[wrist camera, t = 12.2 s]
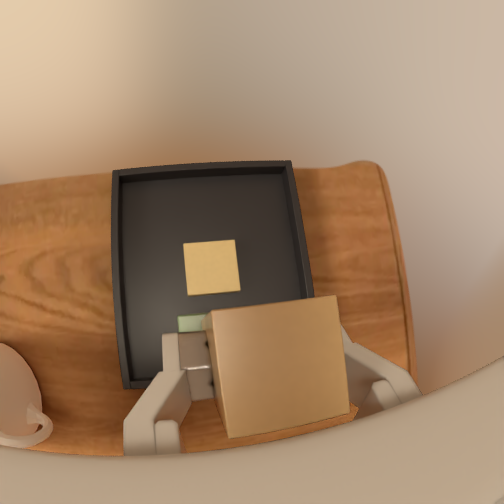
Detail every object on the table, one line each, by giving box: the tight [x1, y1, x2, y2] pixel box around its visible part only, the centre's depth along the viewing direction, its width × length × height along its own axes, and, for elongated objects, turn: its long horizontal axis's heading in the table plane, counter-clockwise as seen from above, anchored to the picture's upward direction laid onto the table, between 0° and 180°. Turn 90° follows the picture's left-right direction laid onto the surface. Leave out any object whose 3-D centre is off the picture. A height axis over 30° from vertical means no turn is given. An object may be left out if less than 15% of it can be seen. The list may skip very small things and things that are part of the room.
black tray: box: [111, 160, 315, 389], centre depth 25 cm, size 15×17×2 cm
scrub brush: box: [177, 295, 350, 439], centre depth 11 cm, size 5×4×9 cm
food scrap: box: [183, 240, 241, 297], centre depth 25 cm, size 4×4×1 cm
